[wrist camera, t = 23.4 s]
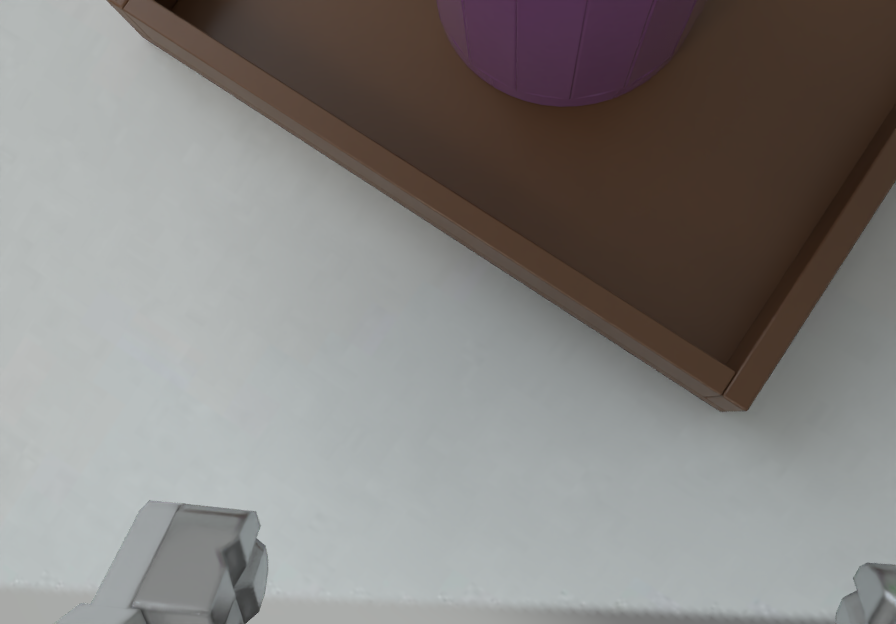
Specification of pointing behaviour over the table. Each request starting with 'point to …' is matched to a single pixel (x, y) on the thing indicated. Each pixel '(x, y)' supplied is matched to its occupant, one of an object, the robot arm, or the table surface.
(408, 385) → the table surface
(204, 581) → the robot arm
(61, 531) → the table surface
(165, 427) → the table surface
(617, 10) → the plum tumbler
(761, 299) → the walnut tray
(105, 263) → the table surface
